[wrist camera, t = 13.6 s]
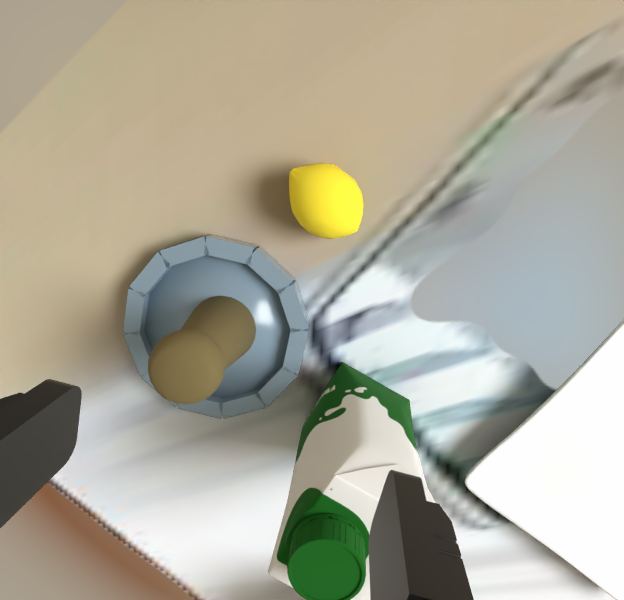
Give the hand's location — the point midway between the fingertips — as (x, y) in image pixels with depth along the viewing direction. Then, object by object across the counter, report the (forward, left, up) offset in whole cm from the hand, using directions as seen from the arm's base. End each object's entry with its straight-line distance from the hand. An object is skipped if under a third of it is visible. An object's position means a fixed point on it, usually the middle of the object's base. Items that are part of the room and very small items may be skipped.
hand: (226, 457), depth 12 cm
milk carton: (+12, +7, -30) cm, 33 cm away
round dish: (+7, -7, -29) cm, 31 cm away
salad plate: (+10, +31, -30) cm, 44 cm away
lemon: (-6, 0, -30) cm, 30 cm away
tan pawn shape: (+7, -7, -29) cm, 30 cm away
